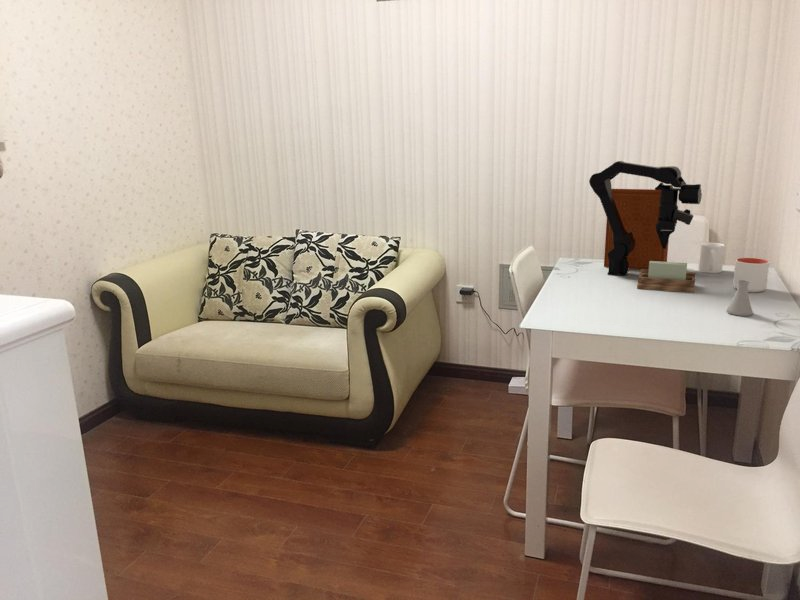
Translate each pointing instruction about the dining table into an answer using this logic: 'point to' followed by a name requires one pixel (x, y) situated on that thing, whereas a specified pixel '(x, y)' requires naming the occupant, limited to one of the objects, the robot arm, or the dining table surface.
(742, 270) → the cup
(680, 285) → the box
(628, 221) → the book
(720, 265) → the mug
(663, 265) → the pale green box
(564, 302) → the dining table surface
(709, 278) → the dining table surface
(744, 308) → the flask
